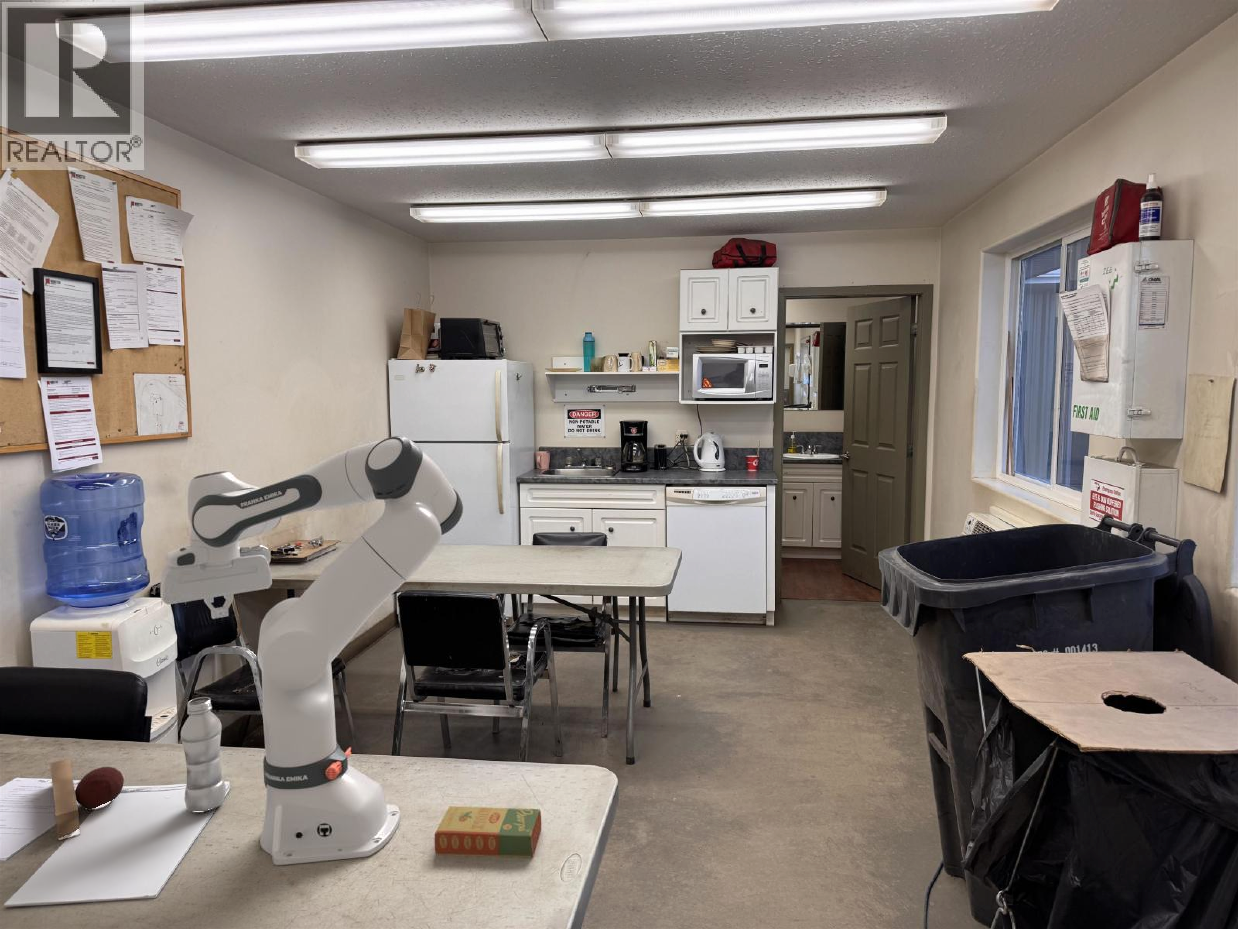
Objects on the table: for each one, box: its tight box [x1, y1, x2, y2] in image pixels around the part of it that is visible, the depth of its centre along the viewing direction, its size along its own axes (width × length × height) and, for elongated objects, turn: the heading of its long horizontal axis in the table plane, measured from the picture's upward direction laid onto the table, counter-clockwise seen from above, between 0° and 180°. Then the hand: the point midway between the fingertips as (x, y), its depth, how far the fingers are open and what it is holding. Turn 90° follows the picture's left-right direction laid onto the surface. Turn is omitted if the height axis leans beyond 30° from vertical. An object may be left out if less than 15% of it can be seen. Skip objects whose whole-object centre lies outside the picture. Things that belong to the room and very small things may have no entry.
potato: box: [75, 766, 125, 810], centre depth 139 cm, size 7×8×7 cm
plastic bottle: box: [180, 696, 227, 812], centre depth 136 cm, size 6×7×20 cm
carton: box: [434, 805, 542, 859], centre depth 125 cm, size 8×16×4 cm, turn 85°
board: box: [50, 758, 81, 839], centre depth 138 cm, size 3×24×4 cm, turn 39°
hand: (220, 617), depth 156 cm, fingers closed
